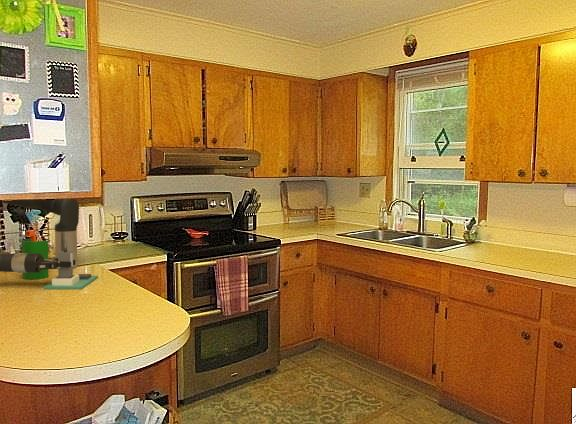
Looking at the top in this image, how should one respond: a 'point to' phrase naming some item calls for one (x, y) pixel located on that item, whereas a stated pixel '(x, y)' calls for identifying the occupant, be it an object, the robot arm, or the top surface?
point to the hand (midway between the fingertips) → (72, 263)
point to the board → (71, 282)
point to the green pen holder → (35, 247)
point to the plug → (65, 257)
